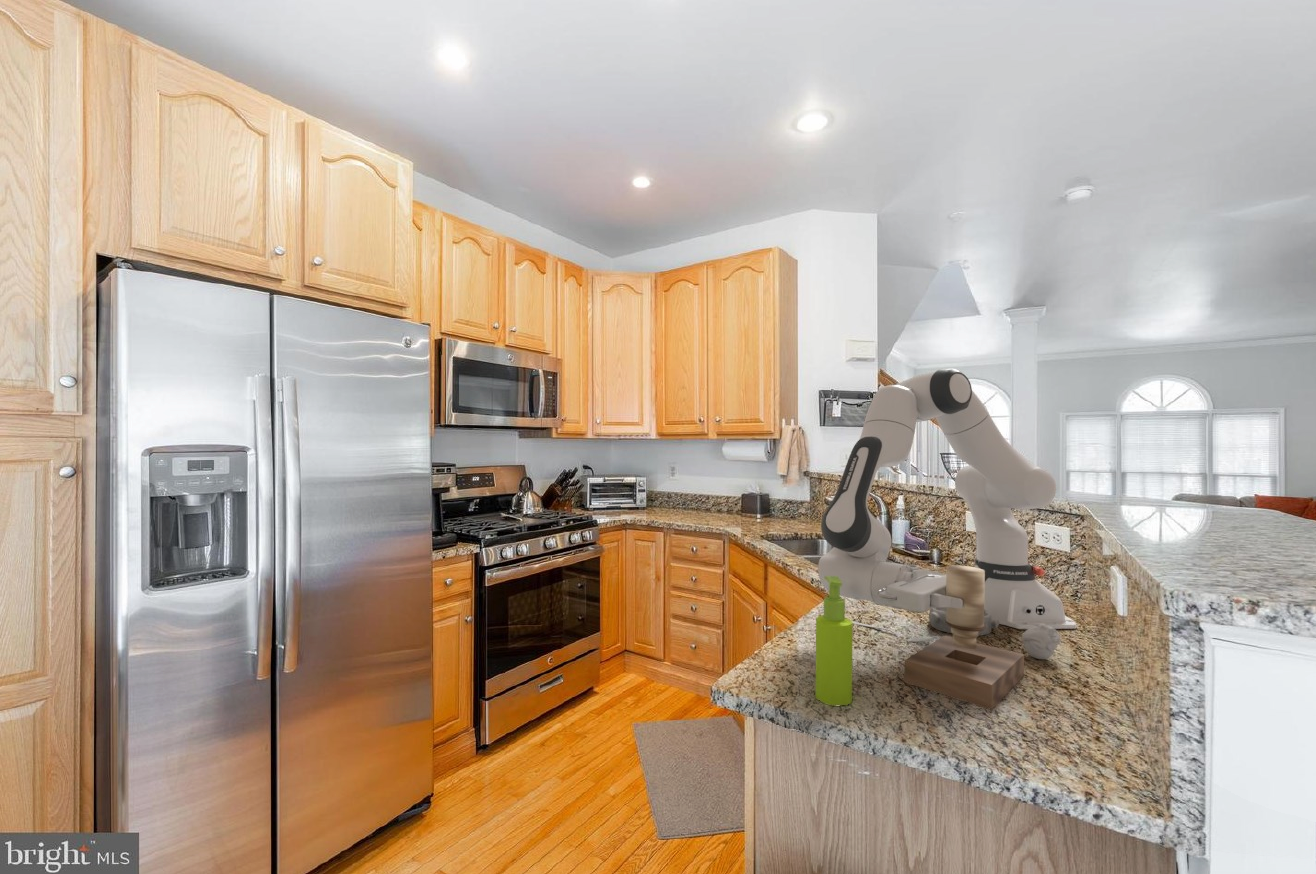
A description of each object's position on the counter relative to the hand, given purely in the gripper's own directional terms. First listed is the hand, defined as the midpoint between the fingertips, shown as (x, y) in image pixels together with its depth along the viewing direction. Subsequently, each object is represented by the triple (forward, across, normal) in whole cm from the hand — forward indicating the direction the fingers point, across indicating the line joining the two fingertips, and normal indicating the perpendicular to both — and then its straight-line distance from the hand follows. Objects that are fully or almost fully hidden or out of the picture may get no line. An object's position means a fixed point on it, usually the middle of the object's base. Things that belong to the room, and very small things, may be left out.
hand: (970, 600), depth 101 cm
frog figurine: (+6, +23, +15) cm, 28 cm away
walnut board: (-1, 0, +15) cm, 15 cm away
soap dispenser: (-14, -25, +15) cm, 32 cm away
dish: (-12, +32, +15) cm, 37 cm away
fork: (-23, +15, +15) cm, 32 cm away
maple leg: (-1, 0, +8) cm, 8 cm away
